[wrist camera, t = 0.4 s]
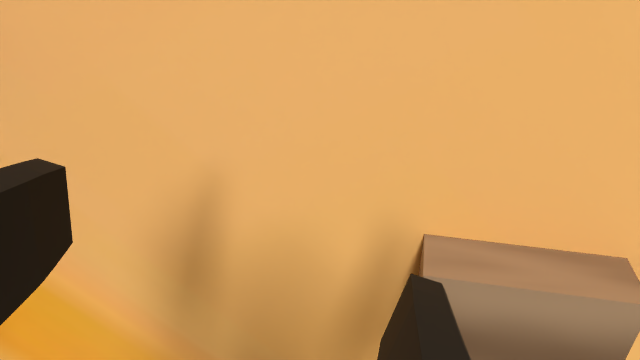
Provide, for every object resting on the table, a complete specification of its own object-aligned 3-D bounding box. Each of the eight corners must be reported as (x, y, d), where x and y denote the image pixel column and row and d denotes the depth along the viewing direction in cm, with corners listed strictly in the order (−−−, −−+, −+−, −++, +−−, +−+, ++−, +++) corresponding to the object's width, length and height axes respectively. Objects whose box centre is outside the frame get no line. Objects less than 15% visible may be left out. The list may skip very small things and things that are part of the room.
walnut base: (570, 376, 23) (587, 435, 21) (408, 350, 25) (405, 402, 22) (623, 252, 19) (652, 306, 17) (424, 229, 21) (423, 275, 18)
